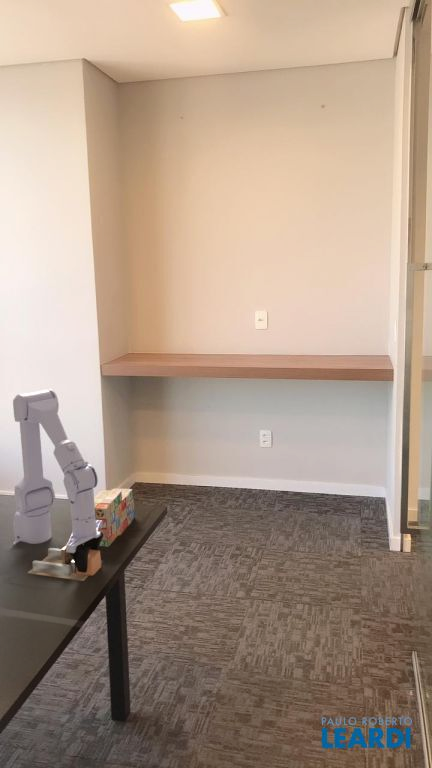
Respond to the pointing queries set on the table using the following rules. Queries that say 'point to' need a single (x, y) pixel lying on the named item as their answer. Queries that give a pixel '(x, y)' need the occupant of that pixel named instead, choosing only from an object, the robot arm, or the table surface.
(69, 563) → the sliding carriage
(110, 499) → the stack of blocks
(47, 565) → the channel deck
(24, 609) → the table surface
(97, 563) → the terracotta block
